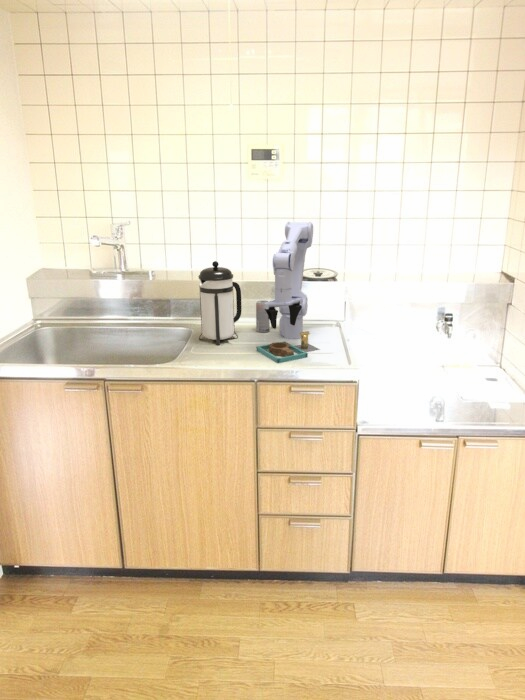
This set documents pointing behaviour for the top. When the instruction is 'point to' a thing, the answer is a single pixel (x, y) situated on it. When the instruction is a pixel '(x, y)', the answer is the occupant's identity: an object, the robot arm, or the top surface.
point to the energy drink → (262, 318)
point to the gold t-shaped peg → (304, 339)
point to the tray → (300, 355)
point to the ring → (280, 349)
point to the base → (310, 348)
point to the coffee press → (218, 303)
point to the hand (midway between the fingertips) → (283, 326)
